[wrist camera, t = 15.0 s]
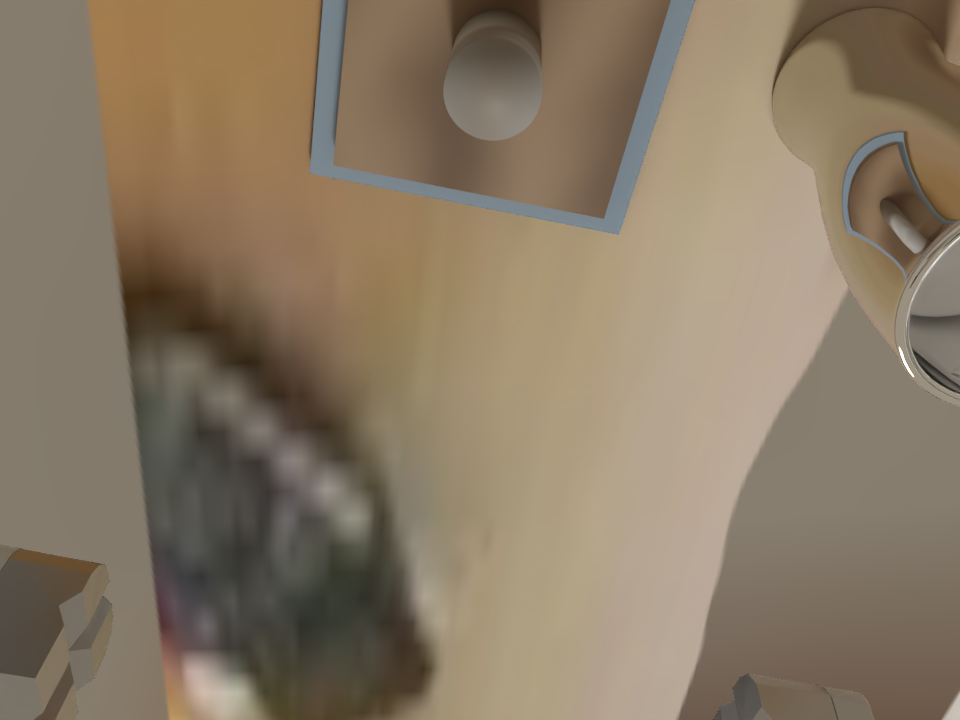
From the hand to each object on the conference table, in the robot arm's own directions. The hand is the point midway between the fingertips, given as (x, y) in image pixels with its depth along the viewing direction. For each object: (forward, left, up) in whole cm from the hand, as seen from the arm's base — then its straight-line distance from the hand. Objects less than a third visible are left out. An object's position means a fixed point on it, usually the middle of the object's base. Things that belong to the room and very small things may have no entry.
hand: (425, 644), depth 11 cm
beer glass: (-13, -1, -26) cm, 30 cm away
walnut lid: (0, 0, -26) cm, 26 cm away
